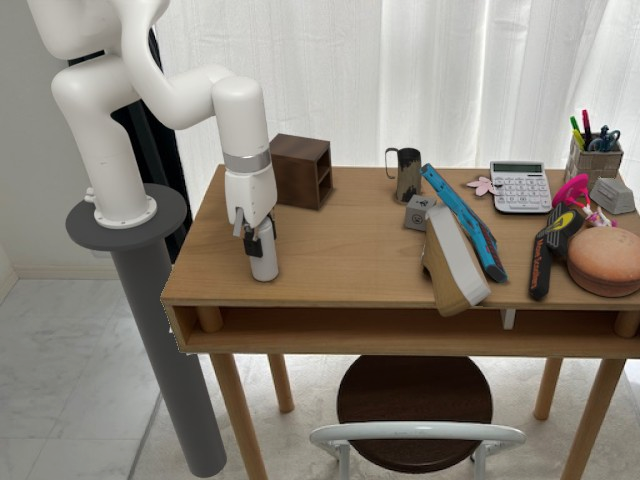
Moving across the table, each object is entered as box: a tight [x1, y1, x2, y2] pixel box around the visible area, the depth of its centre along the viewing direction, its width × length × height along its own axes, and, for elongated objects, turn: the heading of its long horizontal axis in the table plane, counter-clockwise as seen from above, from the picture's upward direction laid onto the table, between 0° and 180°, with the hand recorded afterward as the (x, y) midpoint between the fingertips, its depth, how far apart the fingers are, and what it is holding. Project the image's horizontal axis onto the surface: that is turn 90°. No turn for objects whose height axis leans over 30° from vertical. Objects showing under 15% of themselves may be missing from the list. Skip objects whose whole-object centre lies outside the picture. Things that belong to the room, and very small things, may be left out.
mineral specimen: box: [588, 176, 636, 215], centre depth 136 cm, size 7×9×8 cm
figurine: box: [551, 173, 618, 228], centre depth 129 cm, size 10×10×15 cm
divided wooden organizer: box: [269, 132, 334, 211], centre depth 134 cm, size 12×9×12 cm
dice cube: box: [404, 195, 438, 232], centre depth 128 cm, size 5×5×5 cm
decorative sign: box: [528, 201, 585, 300], centre depth 119 cm, size 27×2×10 cm
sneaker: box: [420, 200, 492, 318], centre depth 115 cm, size 10×29×10 cm
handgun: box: [420, 162, 509, 283], centre depth 115 cm, size 23×3×15 cm
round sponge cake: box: [566, 226, 640, 298], centre depth 116 cm, size 16×16×10 cm
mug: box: [384, 147, 423, 206], centre depth 134 cm, size 8×6×12 cm
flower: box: [466, 176, 501, 197], centre depth 141 cm, size 10×10×2 cm
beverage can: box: [246, 216, 280, 283], centre depth 113 cm, size 5×5×12 cm
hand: (261, 245), depth 112 cm, fingers closed on beverage can, 4 cm apart
